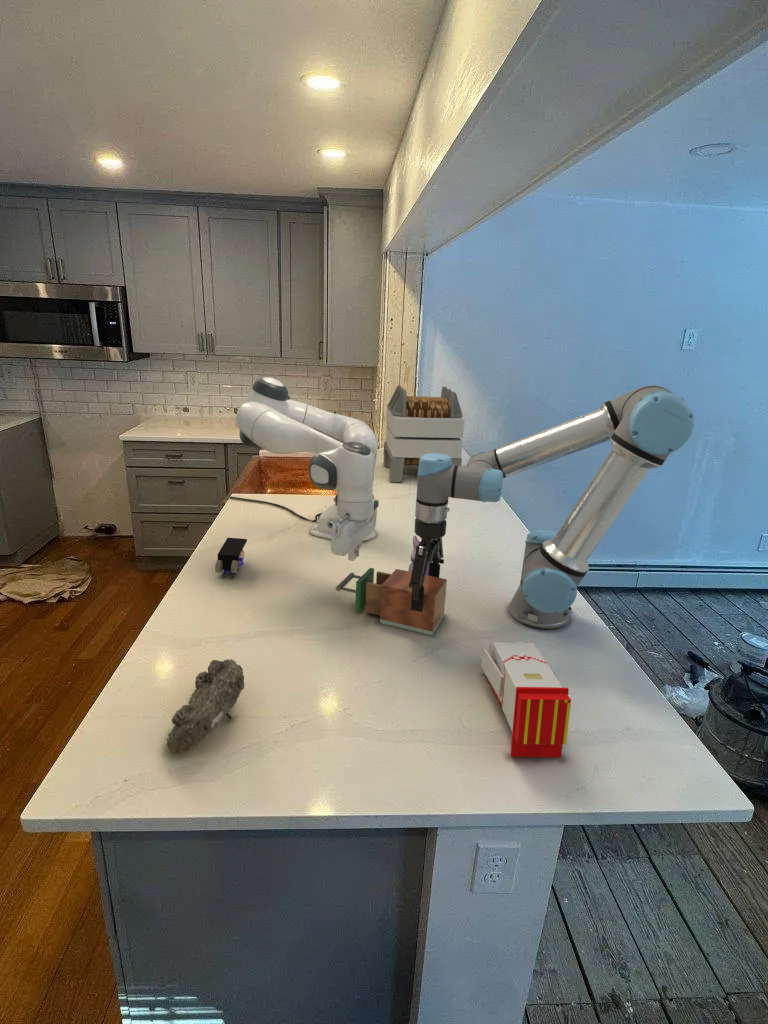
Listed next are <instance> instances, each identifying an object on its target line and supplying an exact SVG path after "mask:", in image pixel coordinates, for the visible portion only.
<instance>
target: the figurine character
mask: <svg viewBox="0 0 768 1024" xmlns="http://www.w3.org/2000/svg"><path fill="white" fill-rule="evenodd" d="M247 542H248V538H240V537H226V539H225V541H224V543H223V544H222V546H221V547H220V549H219V551H218V552H217V560H216V562H215V564H214V572H215V573H221V577H222V578H224V577H225V576H226V574H227V573H230V574H231V573H232V574H231V578H234V577H235V575H236V573H237V572H239V571H240V567H242V566H243V565H244V564H245V562H244V558H245V551H244V547H245V546H246V544H247Z"/></svg>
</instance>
